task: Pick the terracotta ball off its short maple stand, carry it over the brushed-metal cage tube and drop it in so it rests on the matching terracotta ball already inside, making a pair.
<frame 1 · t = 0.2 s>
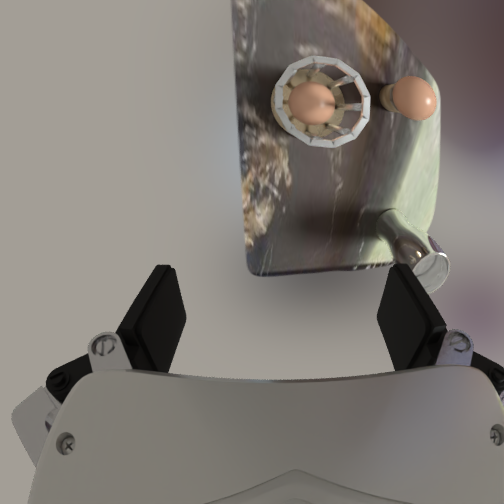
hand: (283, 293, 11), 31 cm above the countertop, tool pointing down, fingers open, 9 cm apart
beer glass: (390, 224, 42), on the countertop
terracotta ball: (414, 98, 25), point 7 cm above the countertop, touching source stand
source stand: (392, 98, 31), on the countertop
cage tube: (307, 103, 33), on the countertop
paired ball: (311, 103, 30), point 4 cm above the countertop, touching cage tube
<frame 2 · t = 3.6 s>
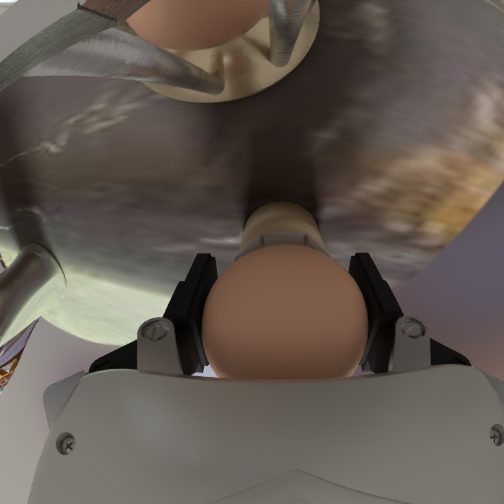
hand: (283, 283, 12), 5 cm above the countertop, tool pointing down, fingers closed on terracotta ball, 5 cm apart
beer glass: (44, 270, 19), on the countertop
terracotta ball: (285, 327, 10), point 7 cm above the countertop, touching gripper, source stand
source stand: (281, 236, 16), on the countertop
cage tube: (215, 16, 10), on the countertop
when the fingers open (15 cm above the countertop, at t = 8.3 s): terracotta ball drops 8 cm, resting on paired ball.
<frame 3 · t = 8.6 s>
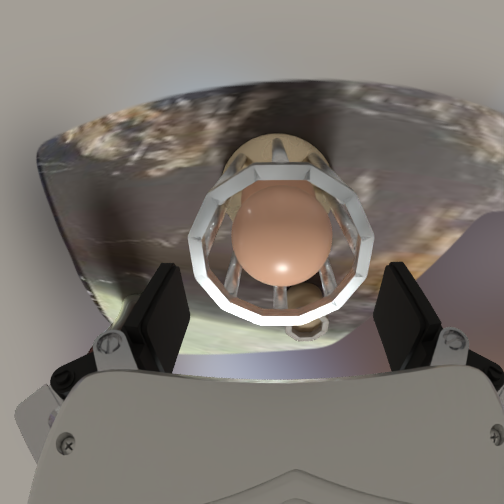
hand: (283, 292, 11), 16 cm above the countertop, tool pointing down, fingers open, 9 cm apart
beer glass: (143, 310, 34), on the countertop
terracotta ball: (282, 235, 16), point 10 cm above the countertop, touching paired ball
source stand: (303, 297, 31), on the countertop
cage tube: (277, 187, 25), on the countertop
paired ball: (278, 201, 21), point 4 cm above the countertop, touching cage tube, terracotta ball
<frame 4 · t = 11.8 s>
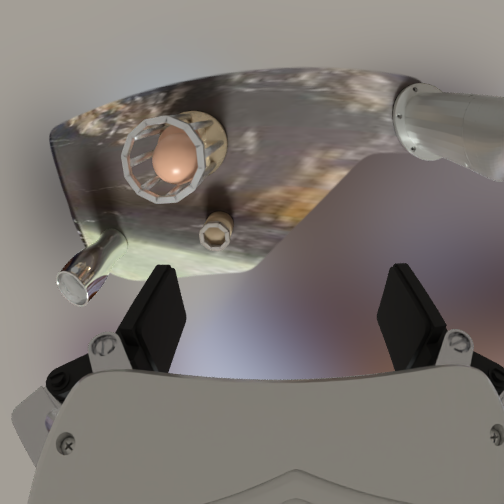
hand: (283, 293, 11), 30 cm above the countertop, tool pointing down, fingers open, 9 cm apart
beer glass: (115, 242, 47), on the countertop
terracotta ball: (178, 158, 29), point 10 cm above the countertop, tilted 55°, touching cage tube, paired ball
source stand: (220, 224, 43), on the countertop
cage tube: (192, 144, 37), on the countertop
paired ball: (179, 144, 33), point 4 cm above the countertop, tilted 18°, touching cage tube, terracotta ball
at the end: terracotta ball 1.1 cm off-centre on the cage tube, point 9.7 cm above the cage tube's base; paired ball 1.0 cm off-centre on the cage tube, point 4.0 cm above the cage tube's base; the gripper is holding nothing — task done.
